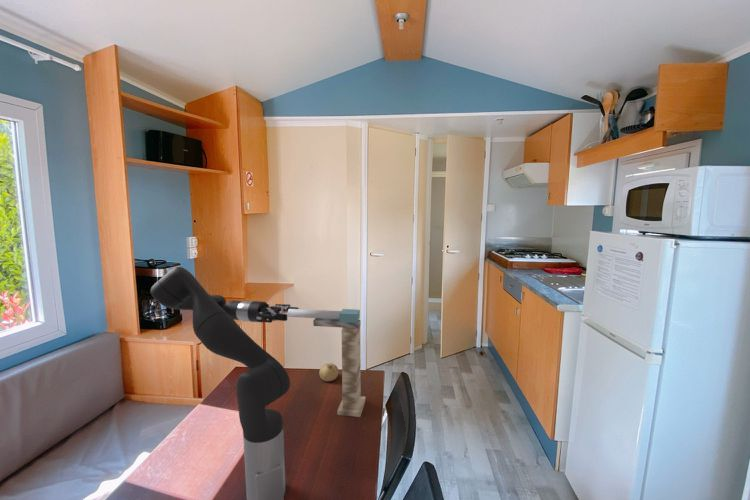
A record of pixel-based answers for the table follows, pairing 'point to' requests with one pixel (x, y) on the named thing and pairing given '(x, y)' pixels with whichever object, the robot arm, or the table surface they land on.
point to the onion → (328, 372)
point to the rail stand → (348, 366)
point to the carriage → (327, 314)
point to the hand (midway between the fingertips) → (292, 313)
